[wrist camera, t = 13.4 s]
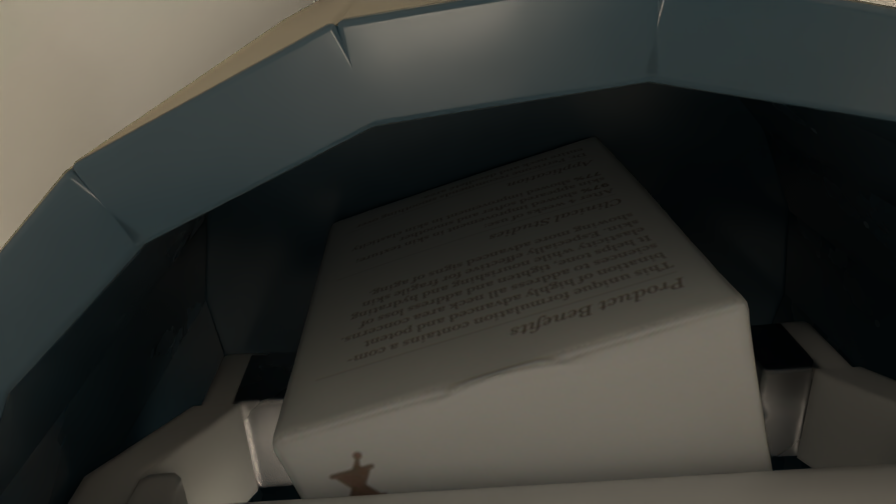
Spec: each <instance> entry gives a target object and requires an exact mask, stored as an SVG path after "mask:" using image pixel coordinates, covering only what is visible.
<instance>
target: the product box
mask: <svg viewBox="0 0 896 504" xmlns="http://www.w3.org/2000/svg"><path fill="white" fill-rule="evenodd" d="M272 446H273V450H274V453H275V454H276V456H277V458H278V459H279V461H280V462H281V464H282V466H283V467H284V469H285V471H286V473H287V475H288V476H289V478H290V480H291V482H292V483H293V485H294V487H295V489H296V491H297V492H298V494H299V496H300V498H301V499H312V498H328V497H345V496H361V495H378V494H394V493H411V492H428V491H444V490H461V489H477V488H494V487H511V486H527V485H544V484H560V483H577V482H593V481H610V480H627V479H643V478H660V477H676V476H693V475H709V474H726V473H742V472H759V471H773V469H772V463H771V457H770V450H769V444H768V438H767V432H766V426H765V419H764V413H763V407H762V401H761V395H760V388H759V382H758V376H757V370H756V364H755V356H754V349H753V342H752V334H751V327H750V315H749V308H748V304H747V301H746V300H745V299H744V298H743V296H742V295H741V294H740V293H739V292H738V291H737V290H736V289H735V288H734V287H733V286H732V285H731V284H730V283H729V282H728V281H727V280H726V279H725V278H724V277H723V276H722V275H721V274H720V273H719V272H718V271H717V269H716V268H715V267H714V266H713V265H712V264H711V262H710V261H709V260H708V259H707V258H706V257H705V256H704V255H703V253H702V252H701V251H700V250H699V249H698V248H697V247H696V246H695V245H694V244H693V243H692V242H691V241H690V239H689V238H688V237H687V236H686V235H685V234H684V232H683V231H682V230H681V229H680V228H679V227H678V226H677V225H676V223H675V222H674V221H673V220H672V219H671V218H670V216H669V215H668V214H667V213H666V212H665V211H664V210H663V209H662V207H661V206H660V205H659V204H658V203H657V202H656V200H655V199H654V198H653V197H652V196H651V195H650V194H649V193H648V191H647V190H646V189H645V188H644V187H643V186H642V185H641V184H640V183H639V182H638V181H637V180H636V178H635V177H634V176H633V175H632V174H631V173H630V172H629V171H628V170H627V169H626V168H625V167H624V166H623V165H622V164H621V163H620V161H618V160H617V159H616V157H615V156H614V155H613V154H612V153H611V152H610V151H609V150H608V149H607V148H606V147H605V146H604V145H603V144H602V143H601V142H600V141H599V140H598V139H597V138H596V137H590V138H587V139H584V140H581V141H578V142H575V143H572V144H569V145H566V146H562V147H559V148H556V149H553V150H550V151H547V152H544V153H541V154H537V155H534V156H531V157H528V158H525V159H522V160H519V161H516V162H513V163H510V164H507V165H504V166H500V167H497V168H494V169H491V170H488V171H485V172H482V173H479V174H476V175H473V176H470V177H467V178H464V179H461V180H458V181H455V182H452V183H449V184H446V185H443V186H440V187H437V188H434V189H431V190H428V191H425V192H422V193H419V194H416V195H413V196H410V197H407V198H405V199H402V200H399V201H396V202H393V203H390V204H387V205H384V206H381V207H378V208H375V209H372V210H369V211H366V212H364V213H361V214H358V215H355V216H352V217H349V218H346V219H343V220H341V221H338V222H336V223H334V224H333V225H332V227H331V229H330V232H329V235H328V239H327V243H326V247H325V251H324V255H323V259H322V262H321V266H320V269H319V273H318V277H317V281H316V284H315V288H314V292H313V295H312V299H311V303H310V307H309V310H308V314H307V317H306V321H305V324H304V328H303V332H302V335H301V339H300V343H299V346H298V350H297V354H296V358H295V362H294V365H293V369H292V372H291V376H290V379H289V383H288V386H287V390H286V393H285V397H284V400H283V403H282V406H281V410H280V414H279V418H278V421H277V425H276V428H275V431H274V435H273V442H272Z"/></svg>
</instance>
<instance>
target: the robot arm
mask: <svg viewBox="0 0 896 504" xmlns="http://www.w3.org/2000/svg"><path fill="white" fill-rule="evenodd" d="M750 327H751V334H752V342H753V349H754V356H755V364H756V370H757V376H758V382H759V388H760V395H761V401H762V407H763V413H764V419H765V426H766V432H767V438H768V444H769V450H770V457H774V456H797V458H798V459H799V460H801V461H802V462H804V463H805V464H807V465H808V466H810V467H811V468H808V469H792V470H775V471H759V472H742V473H726V474H709V475H693V476H676V477H660V478H643V479H627V480H610V481H593V482H577V483H560V484H544V485H527V486H511V487H494V488H477V489H461V490H444V491H428V492H411V493H394V494H378V495H361V496H345V497H328V498H312V499H295V500H278V501H262V502H248V501H249V500H250V499H251V498H252V496H253V495H254V494H255V493H256V492H257V491H258V488H265V487H276V486H288V485H293V483H292V482H291V480H290V478H289V476H288V475H287V473H286V471H285V469H284V467H283V466H282V464H281V462H280V461H279V459H278V458H277V456H276V454H275V453H274V450H273V446H272V442H273V435H274V431H275V428H276V425H277V421H278V418H279V414H280V410H281V406H282V403H283V400H284V397H285V393H286V390H287V386H288V383H289V379H290V376H291V372H292V369H293V365H294V362H295V358H296V354H297V352H277V353H255V354H253V353H247V354H234V355H227V356H225V357H224V358H223V360H222V362H221V364H220V366H219V368H218V370H217V372H216V375H215V377H214V379H213V381H212V383H211V385H210V387H209V390H208V392H207V394H206V396H205V398H204V400H203V402H202V405H201V406H193V407H191V408H189V409H188V410H186V411H185V412H183V413H182V414H180V415H179V416H177V417H176V418H174V419H172V420H171V421H169V422H168V423H166V424H165V425H163V426H162V427H160V428H159V429H157V430H156V431H154V432H152V433H151V434H149V435H148V436H146V437H145V438H143V439H142V440H140V441H139V442H137V443H135V444H134V445H132V446H131V447H129V448H128V449H126V450H125V451H123V452H122V453H120V454H119V455H117V456H115V457H114V458H112V459H111V460H109V461H108V462H106V463H105V464H103V465H102V466H100V467H98V468H97V469H95V470H94V471H92V472H91V473H89V474H88V475H86V476H85V477H84V478H83V480H82V481H81V483H80V485H79V486H78V488H77V489H76V491H75V493H74V494H73V496H72V498H71V499H70V501H69V502H68V504H896V381H895V380H893V379H890V378H888V377H885V376H883V375H880V374H878V373H875V372H873V371H870V370H868V369H865V368H863V367H852V366H851V365H850V364H849V363H848V362H847V361H846V360H845V359H844V358H843V357H842V356H841V355H840V354H839V353H838V352H837V351H836V350H835V349H834V348H833V347H832V346H831V345H830V344H829V343H828V342H827V341H826V340H825V339H824V338H823V337H822V336H821V335H820V334H819V333H818V332H817V331H816V330H815V329H814V328H813V327H812V326H811V325H810V324H809V323H807V322H804V321H796V322H786V323H776V324H764V325H752V326H750Z"/></svg>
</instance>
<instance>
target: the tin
mask: <svg viewBox="0 0 896 504" xmlns="http://www.w3.org/2000/svg"><path fill="white" fill-rule="evenodd" d="M590 137H596V138H597V139H598V140H599V141H600V142H601V143H602V144H603V145H604V146H605V147H606V148H607V149H608V150H609V151H610V152H611V153H612V154H613V155H614V156H615V157H616V159H617V160H618V161H620V163H621V164H622V165H623V166H624V167H625V168H626V169H627V170H628V171H629V172H630V173H631V174H632V175H633V176H634V177H635V178H636V180H637V181H638V182H639V183H640V184H641V185H642V186H643V187H644V188H645V189H646V190H647V191H648V193H649V194H650V195H651V196H652V197H653V198H654V199H655V200H656V202H657V203H658V204H659V205H660V206H661V207H662V209H663V210H664V211H665V212H666V213H667V214H668V215H669V216H670V218H671V219H672V220H673V221H674V222H675V223H676V225H677V226H678V227H679V228H680V229H681V230H682V231H683V232H684V234H685V235H686V236H687V237H688V238H689V239H690V241H691V242H692V243H693V244H694V245H695V246H696V247H697V248H698V249H699V250H700V251H701V252H702V253H703V255H704V256H705V257H706V258H707V259H708V260H709V261H710V262H711V264H712V265H713V266H714V267H715V268H716V269H717V271H718V272H719V273H720V274H721V275H722V276H723V277H724V278H725V279H726V280H727V281H728V282H729V283H730V284H731V285H732V286H733V287H734V288H735V289H736V290H737V291H738V292H739V293H740V294H741V295H742V296H743V298H744V299H745V300H746V301H747V304H748V308H749V315H750V326H752V325H764V324H776V323H786V322H796V321H804V322H807V323H809V324H810V325H811V326H812V327H813V328H814V329H815V330H816V331H817V332H818V333H819V334H820V335H821V336H822V337H823V338H824V339H825V340H826V341H827V342H828V343H829V344H830V345H831V346H832V347H833V348H834V349H835V350H836V351H837V352H838V353H839V354H840V355H841V356H842V357H843V358H844V359H845V360H846V361H847V362H848V363H849V364H850V365H851V366H852V367H863V368H865V369H868V370H870V371H873V372H875V373H878V374H880V375H883V376H885V377H888V378H890V379H893V380H895V381H896V7H892V6H886V5H880V4H875V3H869V2H864V1H858V0H318V1H317V2H315V3H313V4H311V5H309V6H308V7H306V8H304V9H302V10H300V11H299V12H297V13H295V14H293V15H291V16H290V17H288V18H286V19H284V20H283V21H281V22H280V23H278V24H277V25H275V26H274V27H272V28H271V29H269V30H268V31H266V32H265V33H263V34H262V35H261V36H259V37H258V38H256V39H255V40H253V41H252V42H250V43H249V44H247V45H246V46H244V47H243V48H241V49H240V50H239V51H237V52H236V53H234V54H233V55H231V56H230V57H228V58H227V59H225V60H224V61H222V62H221V63H219V64H218V65H216V66H215V67H214V68H212V69H211V70H209V71H208V72H206V73H205V74H203V75H202V76H200V77H199V78H197V79H196V80H194V81H193V82H192V83H190V84H189V85H187V86H186V87H184V88H183V89H181V90H180V91H178V92H177V93H175V94H174V95H172V96H171V97H169V98H168V99H167V100H165V101H164V102H162V103H161V104H159V105H158V106H156V107H155V108H153V109H152V110H150V111H149V112H147V113H146V114H145V115H143V116H142V117H140V118H139V119H137V120H136V121H134V122H133V123H131V124H130V125H128V126H127V127H125V128H124V129H122V130H121V131H120V132H118V133H117V134H115V135H114V136H112V137H111V138H109V139H108V140H106V141H105V142H103V143H102V144H100V145H99V146H98V147H96V148H95V149H93V150H92V151H90V152H89V153H87V154H86V155H84V156H83V157H81V158H80V159H78V160H77V161H76V162H75V163H74V165H73V166H72V167H70V168H69V169H67V170H66V171H65V172H64V173H63V174H62V176H61V177H60V178H59V179H58V180H57V182H56V183H55V184H54V185H53V187H52V188H51V189H50V190H49V191H48V193H47V194H46V195H45V196H44V197H43V199H42V200H41V201H40V202H39V203H38V205H37V206H36V207H35V208H34V210H33V211H32V212H31V213H30V214H29V216H28V217H27V218H26V219H25V220H24V222H23V223H22V224H21V225H20V227H19V228H18V229H17V230H16V231H15V233H14V234H13V235H12V236H11V237H10V239H9V240H8V241H7V242H6V243H5V245H4V246H3V247H2V248H1V250H0V504H68V502H69V501H70V499H71V498H72V496H73V494H74V493H75V491H76V489H77V488H78V486H79V485H80V483H81V481H82V480H83V478H84V477H85V476H86V475H88V474H89V473H91V472H92V471H94V470H95V469H97V468H98V467H100V466H102V465H103V464H105V463H106V462H108V461H109V460H111V459H112V458H114V457H115V456H117V455H119V454H120V453H122V452H123V451H125V450H126V449H128V448H129V447H131V446H132V445H134V444H135V443H137V442H139V441H140V440H142V439H143V438H145V437H146V436H148V435H149V434H151V433H152V432H154V431H156V430H157V429H159V428H160V427H162V426H163V425H165V424H166V423H168V422H169V421H171V420H172V419H174V418H176V417H177V416H179V415H180V414H182V413H183V412H185V411H186V410H188V409H189V408H191V407H193V406H201V405H202V402H203V400H204V398H205V396H206V394H207V392H208V390H209V387H210V385H211V383H212V381H213V379H214V377H215V375H216V372H217V370H218V368H219V366H220V364H221V362H222V360H223V358H224V357H225V356H227V355H234V354H247V353H253V354H255V353H277V352H297V350H298V346H299V343H300V339H301V335H302V332H303V328H304V324H305V321H306V317H307V314H308V310H309V307H310V303H311V299H312V295H313V292H314V288H315V284H316V281H317V277H318V273H319V269H320V266H321V262H322V259H323V255H324V251H325V247H326V243H327V239H328V235H329V232H330V229H331V227H332V225H333V224H334V223H336V222H338V221H341V220H343V219H346V218H349V217H352V216H355V215H358V214H361V213H364V212H366V211H369V210H372V209H375V208H378V207H381V206H384V205H387V204H390V203H393V202H396V201H399V200H402V199H405V198H407V197H410V196H413V195H416V194H419V193H422V192H425V191H428V190H431V189H434V188H437V187H440V186H443V185H446V184H449V183H452V182H455V181H458V180H461V179H464V178H467V177H470V176H473V175H476V174H479V173H482V172H485V171H488V170H491V169H494V168H497V167H500V166H504V165H507V164H510V163H513V162H516V161H519V160H522V159H525V158H528V157H531V156H534V155H537V154H541V153H544V152H547V151H550V150H553V149H556V148H559V147H562V146H566V145H569V144H572V143H575V142H578V141H581V140H584V139H587V138H590ZM771 463H772V469H773V471H775V470H792V469H808V468H811V467H810V466H808V465H807V464H805V463H804V462H802V461H801V460H799V459H798V458H797V456H774V457H771ZM295 499H301V498H300V496H299V494H298V492H297V491H296V489H295V487H294V485H288V486H276V487H265V488H258V491H257V492H256V493H255V494H254V495H253V496H252V498H251V499H250V500H249V501H248V502H262V501H278V500H295Z"/></svg>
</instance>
